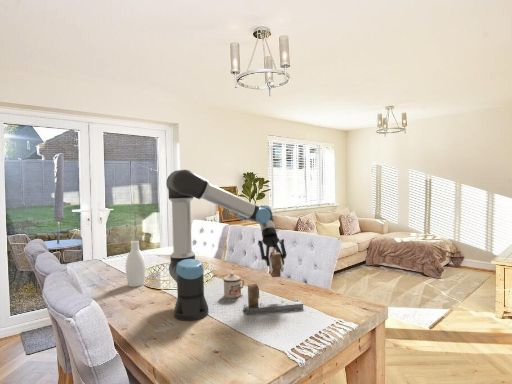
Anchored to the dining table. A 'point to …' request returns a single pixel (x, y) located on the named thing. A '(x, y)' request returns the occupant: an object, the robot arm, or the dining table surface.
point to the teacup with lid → (232, 286)
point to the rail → (273, 307)
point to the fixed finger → (253, 294)
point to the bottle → (135, 266)
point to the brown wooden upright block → (276, 264)
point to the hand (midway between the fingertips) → (277, 270)
